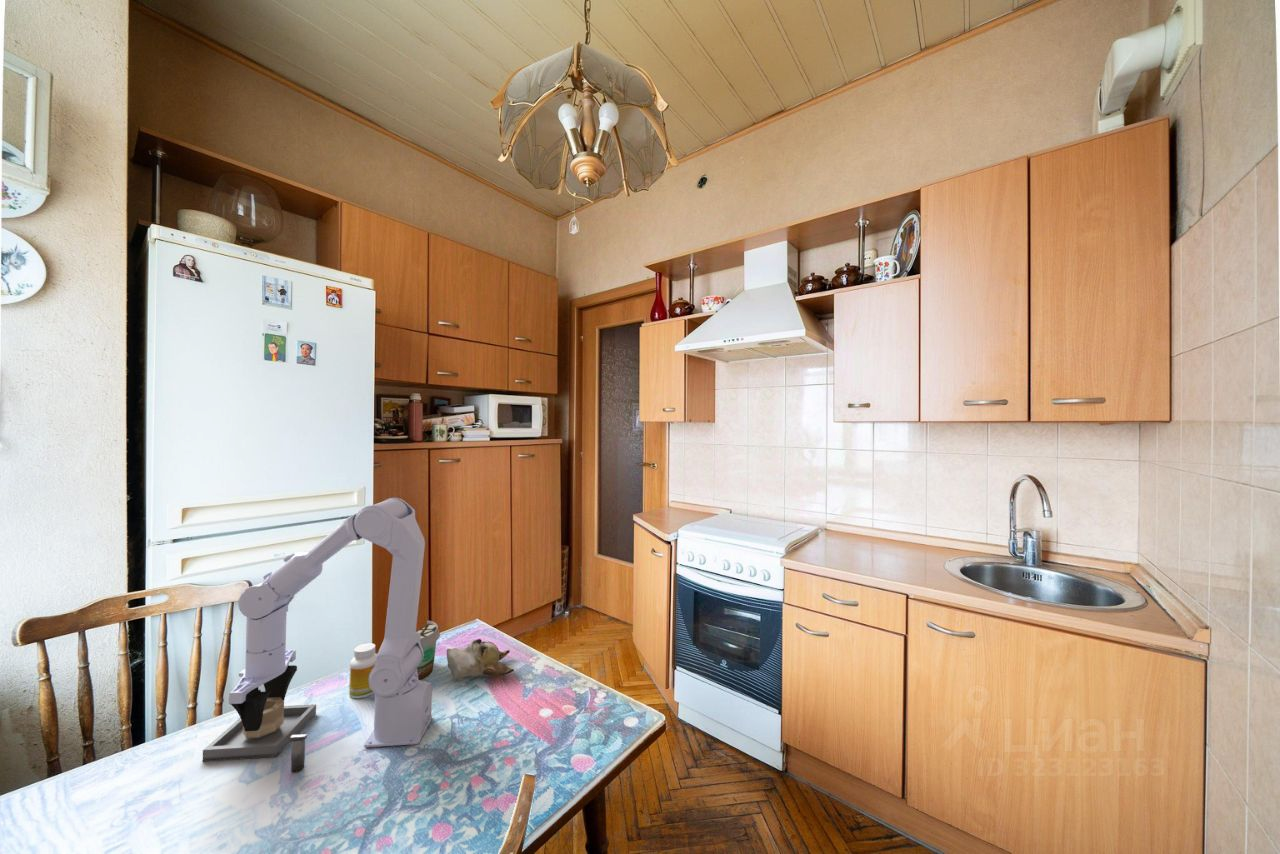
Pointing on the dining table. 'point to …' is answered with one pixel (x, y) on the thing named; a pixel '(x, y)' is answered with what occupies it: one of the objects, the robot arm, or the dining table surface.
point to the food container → (427, 648)
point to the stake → (298, 752)
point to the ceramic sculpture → (477, 661)
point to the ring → (269, 718)
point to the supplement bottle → (362, 670)
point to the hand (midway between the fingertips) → (264, 718)
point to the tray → (270, 745)
